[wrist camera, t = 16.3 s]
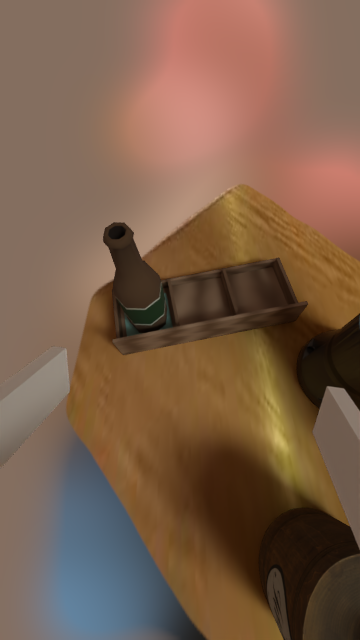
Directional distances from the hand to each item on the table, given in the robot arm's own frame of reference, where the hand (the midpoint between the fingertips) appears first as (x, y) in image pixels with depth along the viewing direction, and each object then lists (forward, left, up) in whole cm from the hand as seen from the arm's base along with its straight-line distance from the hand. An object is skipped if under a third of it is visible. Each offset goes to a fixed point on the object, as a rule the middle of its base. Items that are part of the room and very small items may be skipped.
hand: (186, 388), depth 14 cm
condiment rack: (-6, -22, -36) cm, 42 cm away
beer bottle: (+5, -22, -35) cm, 41 cm away
